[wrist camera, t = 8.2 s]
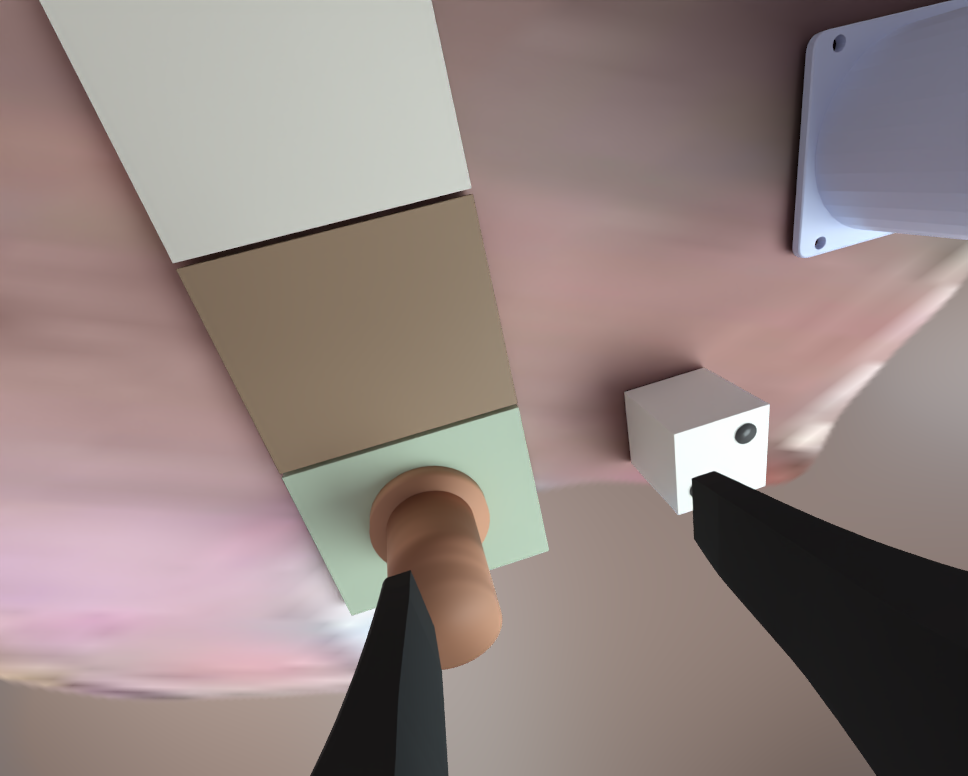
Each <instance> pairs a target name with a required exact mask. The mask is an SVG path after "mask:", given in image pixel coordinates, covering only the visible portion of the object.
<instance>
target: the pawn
mask: <svg viewBox="0 0 968 776" xmlns="http://www.w3.org/2000/svg"><path fill="white" fill-rule="evenodd" d="M489 524H490V514H489V509H488V506H487V503H486V500H485V497H484V494H483V492H482V490H481V488H480V487H479V485H478V484H477V483H476V482H475V481H474V480H473V479H472V478H471V477H469V476H468V475H467V474H465V473H463V472H461V471H459V470H456V469H453V468H449V467H444V466H425V467H419V468H415V469H412V470H409V471H406V472H404V473H402V474H400V475H398V476H397V477H395V478H394V479H392V480H391V481H390V482H388V483H387V484H386V485H385V486H384V487H383V488H382V489H381V490H380V492H379V493H378V495H377V496H376V498H375V500H374V502H373V504H372V507H371V511H370V530H369V534H370V540H371V543H372V546H373V548H374V550H375V552H376V553H377V554H378V555H379V557H380V558H381V559H382V560H383V561H385V562H386V563H387V578H388V577H391V576H394V575H397V574H400V573H403V572H406V571H409V570H411V572H412V574H413V577H414V579H415V581H416V584H417V586H418V588H419V591H420V593H421V596H422V598H423V600H424V603H425V605H426V608H427V610H428V612H429V615H430V617H431V620H432V622H433V624H434V627H435V633H436V639H437V645H438V651H439V657H440V663H441V669H442V670H445V669H450V668H454V667H458V666H461V665H463V664H466V663H468V662H470V661H472V660H474V659H475V658H477V657H479V656H480V655H481V654H483V653H484V652H485V651H486V650H487V649H489V647H490V646H491V645H492V644H493V643H494V642H495V640H496V639H497V637H498V635H499V633H500V630H501V627H502V614H501V610H500V606H499V602H498V599H497V596H496V592H495V588H494V585H493V582H492V578H491V575H490V571H489V567H488V564H487V560H486V557H485V553H484V550H483V546H482V543H483V541H484V540H485V537H486V535H487V533H488V529H489Z"/></svg>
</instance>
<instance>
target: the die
mask: <svg viewBox="0 0 968 776" xmlns="http://www.w3.org/2000/svg"><path fill="white" fill-rule="evenodd" d="M624 396H625V406H626V416H627V426H628V436H629V445H630V455H631V463H632V465H633V466H634V467H635V468H636V469H637V470H638V471H639V472H640V473H641V474H642V476H643V477H644V478H645V479H646V480H647V481H648V482H649V483H650V484H651V486H652V487H653V488H654V489H655V490H656V491H657V492H658V493H659V494H660V495H661V496H662V498H663V499H664V500H665V501H666V502H667V503H668V504H669V505H670V506H671V508H672V509H673V510H674V511H675V512H676V513H677V514H678V515H680V514H683V513H686V512H689V511H692V510H693V500H692V478H694V477H697V476H700V475H703V474H706V473H709V472H712V471H716V472H718V473H720V474H723V475H725V476H727V477H729V478H731V479H734V480H736V481H738V482H740V483H742V484H744V485H746V486H748V487H751V488H753V489H757V488H760V487H763V486H765V482H766V463H767V444H768V426H769V407H770V404H768V403H767V402H765V401H763V400H761V399H760V398H758V397H756V396H754V395H753V394H751V393H749V392H747V391H745V390H744V389H742V388H740V387H738V386H737V385H735V384H733V383H731V382H729V381H728V380H726V379H724V378H722V377H721V376H719V375H717V374H715V373H714V372H712V371H710V370H708V369H706V368H705V367H704V368H701V369H698V370H694V371H691V372H688V373H685V374H681V375H678V376H675V377H672V378H668V379H665V380H662V381H659V382H655V383H652V384H649V385H645V386H642V387H639V388H636V389H632V390H629V391H626V392H624Z"/></svg>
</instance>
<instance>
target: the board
mask: <svg viewBox="0 0 968 776" xmlns="http://www.w3.org/2000/svg"><path fill="white" fill-rule="evenodd" d="M39 1H40V3H41V5H42V6H43V8H44V10H45V12H46V14H47V16H48V18H49V20H50V22H51V24H52V26H53V28H54V30H55V32H56V34H57V36H58V38H59V40H60V42H61V44H62V46H63V48H64V50H65V52H66V54H67V56H68V58H69V60H70V62H71V64H72V66H73V68H74V70H75V71H76V73H77V75H78V77H79V79H80V81H81V83H82V85H83V87H84V89H85V91H86V93H87V95H88V97H89V99H90V101H91V103H92V105H93V107H94V109H95V111H96V113H97V115H98V117H99V119H100V121H101V123H102V125H103V127H104V129H105V131H106V133H107V135H108V136H109V138H110V140H111V142H112V144H113V146H114V148H115V150H116V152H117V154H118V156H119V158H120V160H121V162H122V164H123V166H124V168H125V170H126V172H127V174H128V176H129V178H130V180H131V182H132V184H133V186H134V188H135V190H136V192H137V194H138V196H139V198H140V200H141V201H142V203H143V205H144V207H145V209H146V211H147V213H148V215H149V217H150V219H151V221H152V223H153V225H154V227H155V229H156V231H157V233H158V235H159V237H160V239H161V241H162V243H163V245H164V247H165V249H166V251H167V253H168V255H169V257H170V259H171V261H172V263H176V262H180V261H184V260H188V259H192V258H196V257H200V256H204V255H208V254H212V253H216V252H220V251H224V250H228V249H232V248H236V247H240V246H244V245H248V244H252V243H256V242H260V241H264V240H268V239H272V238H276V237H280V236H284V235H288V234H292V233H296V232H300V231H304V230H308V229H311V228H315V227H319V226H323V225H327V224H331V223H335V222H339V221H343V220H347V219H351V218H355V217H359V216H363V215H367V214H371V213H375V212H379V211H383V210H387V209H391V208H395V207H399V206H403V205H407V204H411V203H415V202H419V201H423V200H427V199H431V198H435V197H439V196H443V195H447V194H451V193H454V192H458V191H462V190H466V189H470V188H471V183H470V179H469V174H468V169H467V165H466V160H465V155H464V151H463V146H462V141H461V137H460V132H459V127H458V123H457V118H456V113H455V109H454V104H453V99H452V95H451V90H450V85H449V80H448V76H447V71H446V66H445V62H444V57H443V52H442V48H441V43H440V38H439V34H438V29H437V24H436V20H435V15H434V10H433V6H432V1H431V0H39ZM176 270H177V272H178V274H179V276H180V278H181V280H182V282H183V284H184V286H185V288H186V290H187V292H188V294H189V296H190V298H191V300H192V302H193V304H194V306H195V308H196V310H197V312H198V314H199V316H200V318H201V320H202V322H203V324H204V326H205V328H206V330H207V332H208V333H209V335H210V337H211V339H212V341H213V343H214V345H215V347H216V349H217V351H218V353H219V355H220V357H221V359H222V361H223V363H224V365H225V367H226V369H227V371H228V373H229V375H230V377H231V379H232V381H233V383H234V385H235V387H236V389H237V391H238V393H239V395H240V397H241V398H242V400H243V402H244V404H245V406H246V408H247V410H248V412H249V414H250V416H251V418H252V420H253V422H254V424H255V426H256V428H257V430H258V432H259V434H260V436H261V438H262V440H263V442H264V444H265V446H266V448H267V450H268V452H269V454H270V456H271V458H272V460H273V462H274V463H275V465H276V467H277V469H278V471H279V473H280V474H282V473H284V474H283V477H282V479H283V481H284V483H285V485H286V487H287V489H288V491H289V493H290V495H291V497H292V499H293V501H294V503H295V505H296V507H297V509H298V511H299V513H300V515H301V517H302V519H303V521H304V523H305V525H306V527H307V528H308V530H309V532H310V534H311V536H312V538H313V540H314V542H315V544H316V546H317V548H318V550H319V552H320V554H321V556H322V558H323V560H324V562H325V564H326V566H327V568H328V570H329V572H330V574H331V576H332V578H333V580H334V582H335V584H336V586H337V588H338V590H339V592H340V593H341V595H342V597H343V599H344V601H345V603H346V605H347V607H348V609H349V611H350V613H351V615H356V614H359V613H362V612H365V611H368V610H371V609H374V608H376V606H377V603H378V599H379V595H380V592H381V588H382V584H383V582H384V580H385V579H386V578H387V563H386V562H385V561H383V560H382V559H381V558H380V557H379V555H378V554H377V553H376V552H375V550H374V548H373V546H372V543H371V540H370V534H369V530H370V511H371V507H372V504H373V502H374V500H375V498H376V496H377V495H378V493H379V492H380V490H381V489H382V488H383V487H384V486H385V485H386V484H387V483H388V482H390V481H391V480H392V479H394V478H395V477H397V476H398V475H400V474H402V473H404V472H406V471H409V470H412V469H415V468H419V467H425V466H444V467H449V468H453V469H456V470H459V471H461V472H463V473H465V474H467V475H468V476H469V477H471V478H472V479H473V480H474V481H475V482H476V483H477V484H478V485H479V487H480V488H481V490H482V492H483V494H484V497H485V500H486V503H487V506H488V509H489V514H490V524H489V529H488V533H487V535H486V537H485V540H484V541H483V543H482V546H483V550H484V553H485V557H486V560H487V564H488V567H489V570H491V569H495V568H498V567H501V566H504V565H507V564H510V563H513V562H516V561H519V560H522V559H525V558H528V557H531V556H534V555H537V554H540V553H543V552H546V551H549V548H548V543H547V538H546V534H545V529H544V524H543V520H542V516H541V511H540V506H539V501H538V496H537V492H536V487H535V482H534V478H533V473H532V468H531V464H530V459H529V454H528V450H527V445H526V440H525V436H524V431H523V426H522V422H521V417H520V412H519V408H518V406H517V398H516V394H515V389H514V384H513V380H512V375H511V370H510V366H509V361H508V356H507V352H506V347H505V342H504V338H503V333H502V328H501V323H500V319H499V314H498V309H497V305H496V300H495V295H494V291H493V286H492V281H491V277H490V272H489V267H488V263H487V258H486V253H485V249H484V244H483V239H482V235H481V230H480V225H479V221H478V216H477V211H476V207H475V202H474V197H473V194H469V195H465V196H461V197H457V198H453V199H449V200H445V201H441V202H437V203H433V204H429V205H425V206H421V207H417V208H413V209H409V210H405V211H401V212H397V213H394V214H390V215H386V216H382V217H378V218H374V219H370V220H366V221H362V222H358V223H354V224H350V225H346V226H342V227H338V228H334V229H330V230H326V231H322V232H318V233H314V234H310V235H307V236H303V237H299V238H295V239H291V240H287V241H283V242H279V243H275V244H271V245H267V246H263V247H259V248H255V249H251V250H247V251H243V252H239V253H235V254H231V255H227V256H223V257H220V258H216V259H212V260H208V261H204V262H200V263H196V264H192V265H188V266H184V267H181V268H178V269H176Z"/></svg>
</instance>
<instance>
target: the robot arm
mask: <svg viewBox="0 0 968 776" xmlns="http://www.w3.org/2000/svg"><path fill="white" fill-rule="evenodd" d="M834 39H835V40H836V47H835V50H833V42H834ZM893 233H902V234H912V235H922V236H933V237H943V238H953V239H963V240H968V0H951V1H946V2H942V3H938V4H934V5H929V6H925V7H921V8H917V9H913V10H908V11H904V12H900V13H896V14H891V15H887V16H883V17H879V18H874V19H870V20H866V21H862V22H858V23H853V24H849V25H845V26H841V27H836V28H832V29H828V30H825V31H822V32H819V33H817V34H815V35H814V36H813V37H812V38H811V39H810V41H809V43H808V45H807V50H806V59H805V74H804V88H803V103H802V117H801V131H800V146H799V160H798V175H797V189H796V203H795V218H794V232H793V247H792V249H793V253H794V255H795V256H797V257H801V258H809V257H812V256H816V255H819V254H823V253H826V252H830V251H833V250H837V249H840V248H844V247H847V246H851V245H854V244H858V243H861V242H865V241H868V240H872V239H875V238H879V237H882V236H886V235H889V234H893ZM817 239H818V242H817V244H816V246H815V242H816V240H817ZM692 500H693V525H694V539H695V541H696V542H697V544H698V546H699V547H700V549H701V550H702V552H703V553H704V555H705V556H706V558H707V559H708V560H709V562H710V563H711V565H712V566H713V568H714V569H715V570H716V572H717V573H718V575H719V576H720V577H721V578H722V580H723V581H724V582H725V583H726V584H727V586H728V587H729V588H730V589H731V590H732V591H733V593H734V594H735V595H736V596H737V597H738V598H739V599H740V601H741V602H742V603H743V604H744V605H745V606H746V608H747V609H748V610H749V611H750V612H751V613H752V614H753V616H754V617H755V618H756V619H757V620H758V621H759V622H760V624H762V626H763V627H764V628H765V629H766V630H767V632H768V633H769V634H770V635H771V636H772V637H773V638H774V640H775V641H776V642H777V643H778V644H779V645H780V646H781V648H782V649H783V650H784V651H785V652H786V653H787V655H788V656H789V657H790V658H791V659H792V660H793V662H794V663H795V664H796V665H797V667H798V668H799V669H800V670H801V672H802V673H803V674H804V675H805V676H806V678H807V679H808V680H809V682H810V683H811V685H812V686H813V687H814V689H815V690H816V691H817V693H818V694H819V695H820V697H821V698H822V699H823V701H824V702H825V704H826V705H827V706H828V708H829V709H830V710H831V712H832V713H833V714H834V716H835V717H836V718H837V720H838V721H839V723H840V724H841V726H842V727H843V728H844V730H845V731H846V733H847V734H848V736H849V737H850V738H851V740H852V741H853V743H854V744H855V745H856V747H857V748H858V750H859V751H860V752H861V754H862V755H863V757H864V758H865V760H866V761H867V763H868V764H869V765H870V767H871V768H872V770H873V771H874V773H875V774H876V776H968V571H965V570H961V569H957V568H954V567H951V566H948V565H944V564H941V563H938V562H935V561H932V560H928V559H926V558H923V557H920V556H917V555H914V554H911V553H908V552H905V551H902V550H899V549H896V548H893V547H890V546H887V545H885V544H882V543H879V542H876V541H874V540H871V539H868V538H865V537H863V536H861V535H858V534H856V533H853V532H850V531H848V530H845V529H843V528H840V527H838V526H835V525H833V524H831V523H828V522H826V521H824V520H821V519H819V518H816V517H814V516H812V515H810V514H807V513H805V512H803V511H801V510H798V509H796V508H794V507H792V506H789V505H787V504H785V503H783V502H780V501H778V500H776V499H774V498H772V497H770V496H768V495H766V494H763V493H761V492H759V491H757V490H755V489H753V488H751V487H748V486H746V485H744V484H742V483H740V482H738V481H736V480H734V479H731V478H729V477H727V476H725V475H723V474H720V473H718V472H716V471H712V472H709V473H706V474H703V475H700V476H697V477H694V478H692ZM310 776H448V762H447V747H446V729H445V712H444V697H443V682H442V669H441V663H440V657H439V651H438V645H437V639H436V633H435V627H434V624H433V622H432V620H431V617H430V615H429V612H428V610H427V608H426V605H425V603H424V600H423V598H422V596H421V593H420V591H419V588H418V586H417V584H416V581H415V579H414V577H413V574H412V572H411V570H409V571H406V572H403V573H400V574H397V575H394V576H391V577H388V578H386V579H385V580H384V582H383V584H382V588H381V592H380V595H379V599H378V603H377V606H376V610H375V613H374V617H373V620H372V623H371V626H370V630H369V633H368V636H367V639H366V642H365V645H364V648H363V650H362V653H361V656H360V659H359V662H358V665H357V668H356V671H355V673H354V676H353V679H352V681H351V684H350V686H349V689H348V691H347V694H346V696H345V699H344V701H343V704H342V706H341V709H340V711H339V714H338V716H337V719H336V721H335V723H334V726H333V728H332V730H331V732H330V735H329V737H328V739H327V741H326V744H325V746H324V748H323V750H322V752H321V754H320V756H319V759H318V761H317V763H316V765H315V767H314V769H313V771H312V773H311V775H310Z"/></svg>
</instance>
